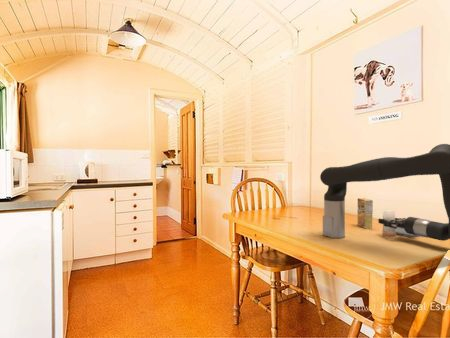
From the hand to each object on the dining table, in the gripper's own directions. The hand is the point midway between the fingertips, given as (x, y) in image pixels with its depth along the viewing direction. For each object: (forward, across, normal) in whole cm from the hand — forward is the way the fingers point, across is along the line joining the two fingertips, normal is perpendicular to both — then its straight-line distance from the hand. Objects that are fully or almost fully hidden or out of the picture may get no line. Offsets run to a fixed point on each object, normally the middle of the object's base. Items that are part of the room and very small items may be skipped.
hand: (384, 220), depth 129 cm
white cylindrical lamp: (-2, 0, +7) cm, 7 cm away
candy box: (+15, -4, +7) cm, 17 cm away
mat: (-2, -13, +7) cm, 15 cm away
